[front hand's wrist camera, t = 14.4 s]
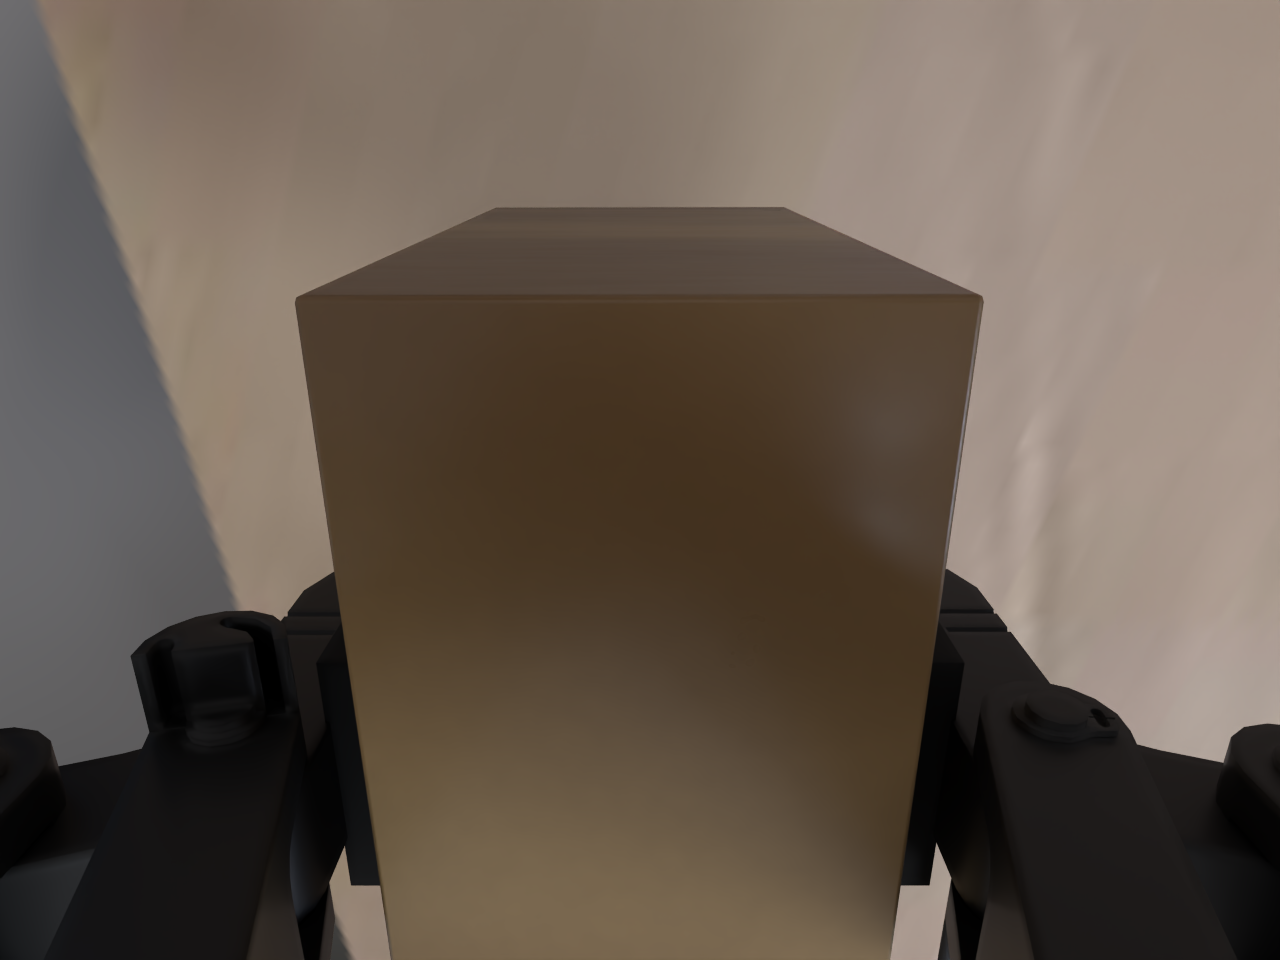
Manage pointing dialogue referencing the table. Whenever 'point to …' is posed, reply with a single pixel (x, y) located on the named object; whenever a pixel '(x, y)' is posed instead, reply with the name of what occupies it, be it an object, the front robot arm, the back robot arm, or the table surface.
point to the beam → (639, 575)
